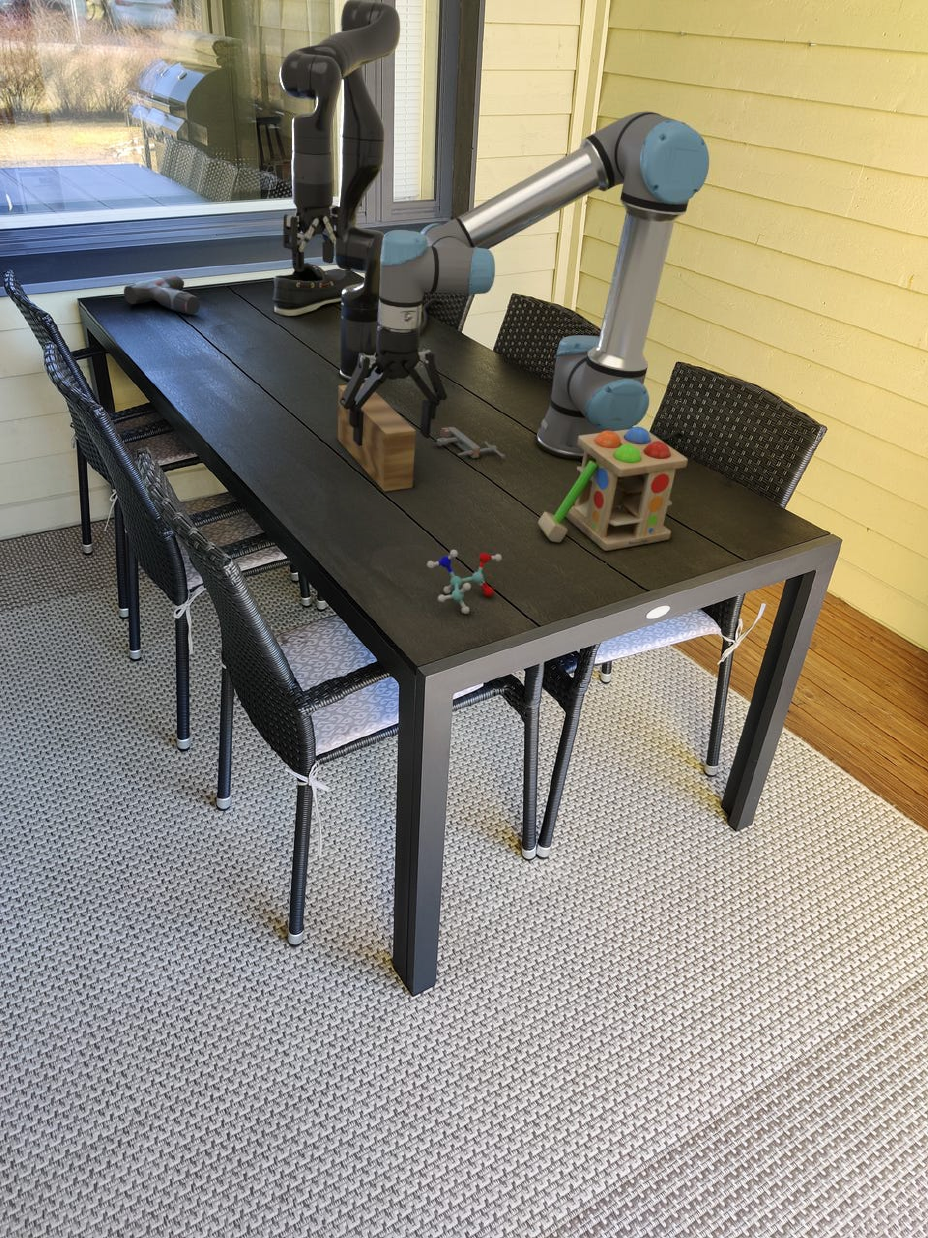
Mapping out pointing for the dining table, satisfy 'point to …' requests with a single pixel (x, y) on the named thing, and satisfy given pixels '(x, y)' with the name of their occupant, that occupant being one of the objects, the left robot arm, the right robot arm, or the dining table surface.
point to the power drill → (163, 294)
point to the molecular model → (457, 581)
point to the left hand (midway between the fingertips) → (313, 266)
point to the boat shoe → (308, 289)
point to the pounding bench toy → (619, 490)
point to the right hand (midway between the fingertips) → (391, 439)
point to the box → (380, 443)
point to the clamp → (464, 443)
